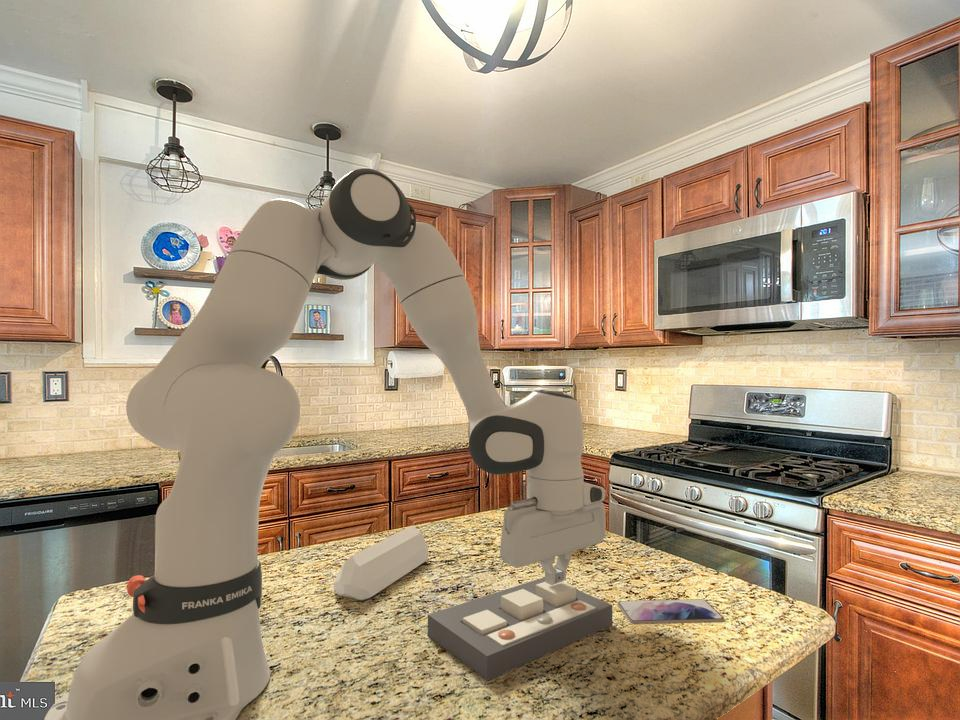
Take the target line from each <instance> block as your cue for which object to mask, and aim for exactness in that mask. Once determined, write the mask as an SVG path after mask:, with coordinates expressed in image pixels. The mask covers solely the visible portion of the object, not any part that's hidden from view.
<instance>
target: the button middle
mask: <svg viewBox="0 0 960 720" xmlns="http://www.w3.org/2000/svg"><path fill="white" fill-rule="evenodd" d="M501 610H502V611H504V612H506V613H508V614H509V615H511V616H513V617H515V618H516V619H518V620H520V621H521V620H524V619H527V618H529V617H532V616H535V615H537V614H540V613H543V598H541V597H539V596H537V595H535V594H533V593H531V592H529V591H526V590H524V589H521V590H518V591H515V592H512V593H509V594H506V595H503V596H501Z"/></svg>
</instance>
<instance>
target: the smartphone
mask: <svg viewBox="0 0 960 720" xmlns="http://www.w3.org/2000/svg"><path fill="white" fill-rule="evenodd" d="M617 607H618V608H619V609H620V611H621V612H622V614H623V615H624V617H625V618H626V619H627V621H628V622H629V623H630V624H633V625H634V624H636V625H638V624H642V625H643V624H674V623H675V624H677V623H679V624H680V623H681V624H683V623H685V624H686V623H718V622H725V617H724V616H723V615H722V614H721V613H720V612H719V611H717V610H716V609H715V607H714V606H713V605H711V604H710V603H709V602H708V601H707V600H705V599H701V598H699V599H698V598H697V599H696V598H695V599H693V598H692V599H688V598H687V599H652V600H650V599H649V600H619V601H617Z"/></svg>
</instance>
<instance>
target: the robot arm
mask: <svg viewBox="0 0 960 720" xmlns="http://www.w3.org/2000/svg"><path fill="white" fill-rule="evenodd" d="M374 264H375V265H374ZM372 265H374V266H375V267H376V268H377V269H379V270H380V271H382V273H383V274H384V275H385V276H386V277H387V278H388V280H389V281H390V283H391V285H392V286H393V289H394V291H395V294H396V296H397V299H398V301H399V303H400V307H401V308H402V311H403V313H404V315H405V316H406V318H407V321H408V322H409V325H411V327H412V328H413V330H414V331H415V333H416V335H417V337H419V340H421V342H422V343H423V344H424V345H425V346H426V347H427V348H428V349H429V350H430V351H431V352H432V353H433V354H434V355H435V356H436V357H437V358H438V359H439V360H440V362H441V363H442V364H443V365H444V367H445V368H446V369H447V372H448V373H449V374H450V377H451V379H452V381H453V383H454V385H455V388H456V391H457V393H458V394H459V396H460V399H461V401H462V403H463V406H464V408H465V410H466V414H467V418H468V428H467V429H468V431H467V432H468V437H467V438H468V449H469V454H470V456H471V459H472V461H473V462H474V463H475V465H476V466H477V467H478V468H479V469H481V470H482V471H484V472H485V473H488V474H492V475H497V476H498V475H499V476H500V475H501V476H502V475H507V474H509V475H510V474H513V473H514V474H515V473H520V472H524V471H525V472H526V499H523V500H515V501H512V502H511V503H510V505H509V506H508V507H507V508H506V510H505V511H504V512H503V521H502V528H501V534H500V545H499V547H500V548H499V556H500V557H499V558H500V559H501V560H502V561H503V562H504V564H506V565H509V566H510V567H513V568H516V569H520V568H523V567H526V566H530V565H533V564H535V563H539V564H540V566H541V568H542V569H543V571H544V577H545V582H546V583H548V584H550V585H554V584H556V583H559V582H562V581H563V582H565V581H566V580H567V570H568V567H569V565H570V562H571V560H572V553H573V552H575V551H577V550H578V551H579V550H581V549H584V548H585V549H586V548H588V547H591V546H595V545H598V544H601V543H602V542H603V540H604V538H605V536H606V532H607V530H606V523H607V519H606V518H607V517H606V516H607V515H606V507H605V504H604V502H603V501H604V500H606V499H605V498H606V489H605V487H604V486H599V485H596V484H592V483H589V482H587V481H585V480H584V477H585V476H584V475H585V474H584V469H583V467H582V455H583V451H584V426H583V423H584V422H583V416H582V409H581V407H580V404H579V402H578V401H577V399H575V397H573V396H571V395H570V394H566V393H562V392H557V391H554V390H553V391H552V390H547V389H546V390H545V389H536V390H531V392H530V393H529V394H528V395H526V396H525V397H524V398H522V399H520V400H518V401H516V402H514V403H512V404H510V405H508V406H507V404H506V403H505V402H504V401H503V400H502V398H501V396H500V395H499V393H498V390H497V388H496V386H495V384H494V380H493V379H492V377H491V375H490V372H489V369H488V367H487V365H486V363H485V360H484V358H483V355H482V351H481V346H480V340H479V338H480V337H479V320H478V315H477V310H476V306H475V301H474V298H473V294H472V291H471V289H470V286H469V284H468V281H467V279H466V277H465V274H464V272H463V270H462V268H461V266H460V264H459V261H458V260H457V258H456V256H455V255H454V253H453V252H452V250H451V248H450V246H449V245H448V243H447V242H446V240H445V239H444V236H442V234H441V233H440V231H439V230H438V229H437V228H436V227H435V226H434V225H432V224H430V223H428V222H422V221H417V217H416V212H415V208H414V207H413V206H412V205H411V204H410V203H409V202H408V199H407V197H406V196H405V194H404V193H403V191H402V190H401V189H400V187H399V186H398V185H397V184H396V182H395V181H393V180H392V179H391V178H390V177H388V176H387V175H386V174H384V173H383V172H381V171H378V170H376V169H372V168H366V167H365V168H357V169H354V170H352V171H350V172H349V173H347V174H344V176H342V177H341V178H340V179H339V180H338V181H337V182H336V183H335V184H334V186H333V187H332V188H331V191H330V193H329V195H328V196H327V198H326V199H325V201H324V202H323V204H322V205H321V207H315V208H310V207H306V206H304V205H303V204H302V203H299V202H297V201H294V200H291V199H287V198H286V199H285V198H276V199H275V198H274V199H271V200H268V201H266V202H264V203H263V204H261V206H259V207H258V209H257V210H256V211H255V212H254V213H253V215H252V216H251V217H250V218H249V220H248V221H247V223H246V224H245V225H244V227H243V228H242V230H241V231H240V233H238V236H237V237H236V239H235V241H234V242H233V244H232V247H231V248H230V251H229V252H228V254H227V257H226V258H225V260H224V263H223V265H222V266H221V269H220V271H219V273H218V275H217V276H216V279H215V281H214V283H213V284H212V286H211V288H210V291H209V294H208V295H207V297H206V299H205V301H204V303H203V305H202V306H201V308H200V309H199V311H198V312H197V313H196V316H194V318H193V319H192V321H191V322H190V323H189V324H188V326H187V327H186V328H185V329H184V331H183V332H182V333H181V335H180V336H179V337H178V338H177V340H176V341H175V342H174V343H173V344H172V346H171V347H170V349H169V350H168V351H167V352H166V354H165V355H164V356H163V358H162V359H161V360H160V361H159V363H158V364H156V366H155V367H154V368H153V369H152V370H150V371H149V373H147V374H145V375H144V376H143V377H141V378H140V379H139V380H137V382H136V383H135V384H134V385H133V387H132V388H131V390H130V392H129V394H128V396H127V399H126V400H127V401H126V404H125V406H126V407H125V408H126V409H125V411H126V416H127V419H128V423H129V425H130V426H131V427H132V429H134V431H135V432H136V433H137V434H139V435H140V436H141V437H142V438H144V439H146V440H147V441H149V443H152V444H154V445H156V446H157V447H159V448H162V449H165V450H172V451H177V452H180V453H179V454H180V458H179V463H178V468H177V472H176V476H175V480H174V482H173V485H172V488H171V489H170V492H169V494H168V495H167V497H166V498H165V499H164V500H163V501H162V502H161V503H160V504H159V506H158V507H157V510H156V514H155V535H154V537H155V540H154V541H155V543H154V544H155V545H154V550H155V553H154V574H153V575H151V576H150V577H149V578H148V579H146V577H144V575H140V574H139V575H134V576H131V578H129V580H128V581H127V582H126V585H125V586H126V592H127V595H128V596H130V597H131V598H132V611H133V613H132V614H131V615H130V616H128V617H127V618H126V619H125V620H124V621H123V622H121V623H120V624H118V626H116V628H114V629H113V630H112V631H111V632H110V633H108V634H107V635H105V637H103V638H102V639H101V640H99V641H98V642H97V643H96V644H95V645H93V646H92V647H91V648H89V649H88V651H87V652H86V653H84V655H83V657H82V658H81V660H80V661H79V663H78V666H77V668H76V670H75V673H74V675H73V678H72V681H71V683H70V688H69V692H67V693H65V694H63V695H62V696H61V697H60V698H59V699H58V700H57V701H55V702H54V704H52V706H51V707H50V708H49V710H48V711H47V713H46V714H45V716H44V719H43V720H236V719H237V718H238V716H239V715H240V713H241V711H242V710H243V708H245V707H246V706H247V705H248V704H249V703H251V702H252V701H253V700H254V699H256V698H257V697H258V696H259V695H260V694H261V693H262V692H263V690H265V688H267V685H268V683H269V681H270V678H271V669H270V666H269V663H268V661H267V656H266V653H265V652H266V651H265V649H264V643H263V638H262V637H263V636H262V631H261V629H262V628H261V621H260V610H259V609H261V602H262V597H263V572H262V564H261V563H262V562H260V561H259V558H258V554H259V551H258V549H259V548H258V547H259V521H260V520H259V518H260V517H259V516H260V503H261V498H262V493H263V489H264V485H265V482H266V479H267V476H268V473H269V470H270V468H271V466H272V463H273V461H274V459H275V457H276V456H277V454H278V453H279V452H280V451H281V450H282V449H284V448H285V446H286V445H287V444H288V443H289V442H290V441H291V440H292V438H293V437H294V435H295V433H296V432H297V428H298V426H299V423H300V418H301V417H300V416H301V403H300V402H301V401H300V398H299V395H298V393H297V391H296V389H295V387H294V385H293V384H292V383H291V381H290V380H288V379H287V378H286V377H285V376H283V375H281V374H279V373H277V372H275V371H271V370H269V369H266V368H262V366H263V365H264V364H265V363H266V361H267V360H268V359H270V357H272V355H274V354H275V353H276V352H278V351H279V350H281V349H283V348H284V346H285V345H286V344H288V342H289V340H290V339H291V337H292V335H293V332H294V330H295V327H296V325H297V323H298V320H299V317H300V315H301V312H302V310H303V307H304V306H305V302H306V300H307V299H308V295H309V293H310V290H311V287H312V284H313V282H314V279H315V276H316V275H321V276H322V275H323V276H325V277H327V278H332V279H334V280H339V281H341V280H343V281H345V280H353V279H355V278H358V277H360V276H362V275H364V274H365V273H366V272H367V271H369V270H370V268H371V267H372ZM556 557H557V559H556ZM553 564H555V566H554V565H553Z"/></svg>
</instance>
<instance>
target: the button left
mask: <svg viewBox="0 0 960 720" xmlns="http://www.w3.org/2000/svg"><path fill="white" fill-rule="evenodd" d="M463 624H464V625H466V626H467V627H469V628H470V629H472V630H473V631H475V632H476V633H478V634H479V635H484V634H487V633H489V632H492V631H495V630H497V629H500V628H503V627H505V626H507V621H506V620H504V619H503V618H501V617H499V616H497V615H496V614H494V613H492V612H491V611H489V610H485V611H482V612H479V613H476V614H473V615H470V616H467V617H464V618H463Z"/></svg>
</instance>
